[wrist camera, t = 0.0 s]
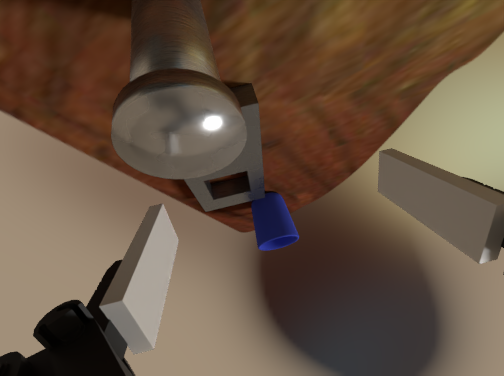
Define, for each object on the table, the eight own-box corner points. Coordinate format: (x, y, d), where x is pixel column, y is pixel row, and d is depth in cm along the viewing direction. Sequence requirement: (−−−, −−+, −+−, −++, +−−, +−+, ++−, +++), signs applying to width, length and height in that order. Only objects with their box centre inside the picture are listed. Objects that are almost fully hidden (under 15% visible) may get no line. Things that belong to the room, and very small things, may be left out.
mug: (254, 215, 58) (265, 256, 54) (242, 196, 48) (254, 244, 43) (287, 206, 58) (300, 246, 53) (282, 184, 47) (298, 232, 42)
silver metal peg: (102, -52, 14) (74, 110, 8) (193, -70, 15) (238, 74, 8) (146, 41, 19) (151, 188, 13) (213, 26, 20) (251, 164, 13)
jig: (148, 106, 25) (149, 128, 23) (251, 83, 25) (258, 103, 24) (203, 197, 44) (205, 211, 43) (261, 183, 45) (265, 197, 43)
